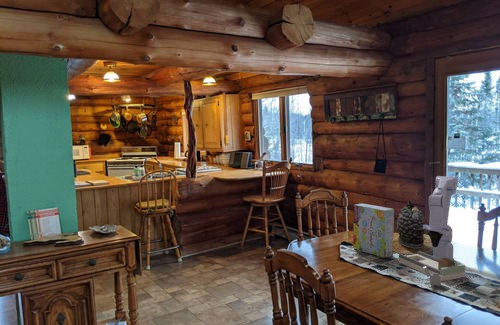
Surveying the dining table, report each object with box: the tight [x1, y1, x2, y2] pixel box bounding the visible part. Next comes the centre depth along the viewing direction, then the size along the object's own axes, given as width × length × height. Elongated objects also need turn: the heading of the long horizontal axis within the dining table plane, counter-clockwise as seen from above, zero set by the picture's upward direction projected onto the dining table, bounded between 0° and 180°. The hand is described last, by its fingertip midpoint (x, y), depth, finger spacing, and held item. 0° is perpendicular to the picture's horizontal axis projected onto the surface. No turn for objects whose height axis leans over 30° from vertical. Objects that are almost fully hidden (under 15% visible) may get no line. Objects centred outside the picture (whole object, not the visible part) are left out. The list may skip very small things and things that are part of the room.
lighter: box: [423, 266, 442, 287], centre depth 174 cm, size 7×2×8 cm, turn 78°
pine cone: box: [396, 200, 426, 249], centre depth 232 cm, size 21×15×25 cm
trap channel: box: [397, 250, 466, 282], centre depth 193 cm, size 14×28×6 cm, turn 20°
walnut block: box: [438, 258, 457, 270], centre depth 184 cm, size 5×5×5 cm
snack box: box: [352, 203, 395, 259], centre depth 219 cm, size 22×9×26 cm, turn 34°
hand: (435, 246), depth 195 cm, fingers closed
